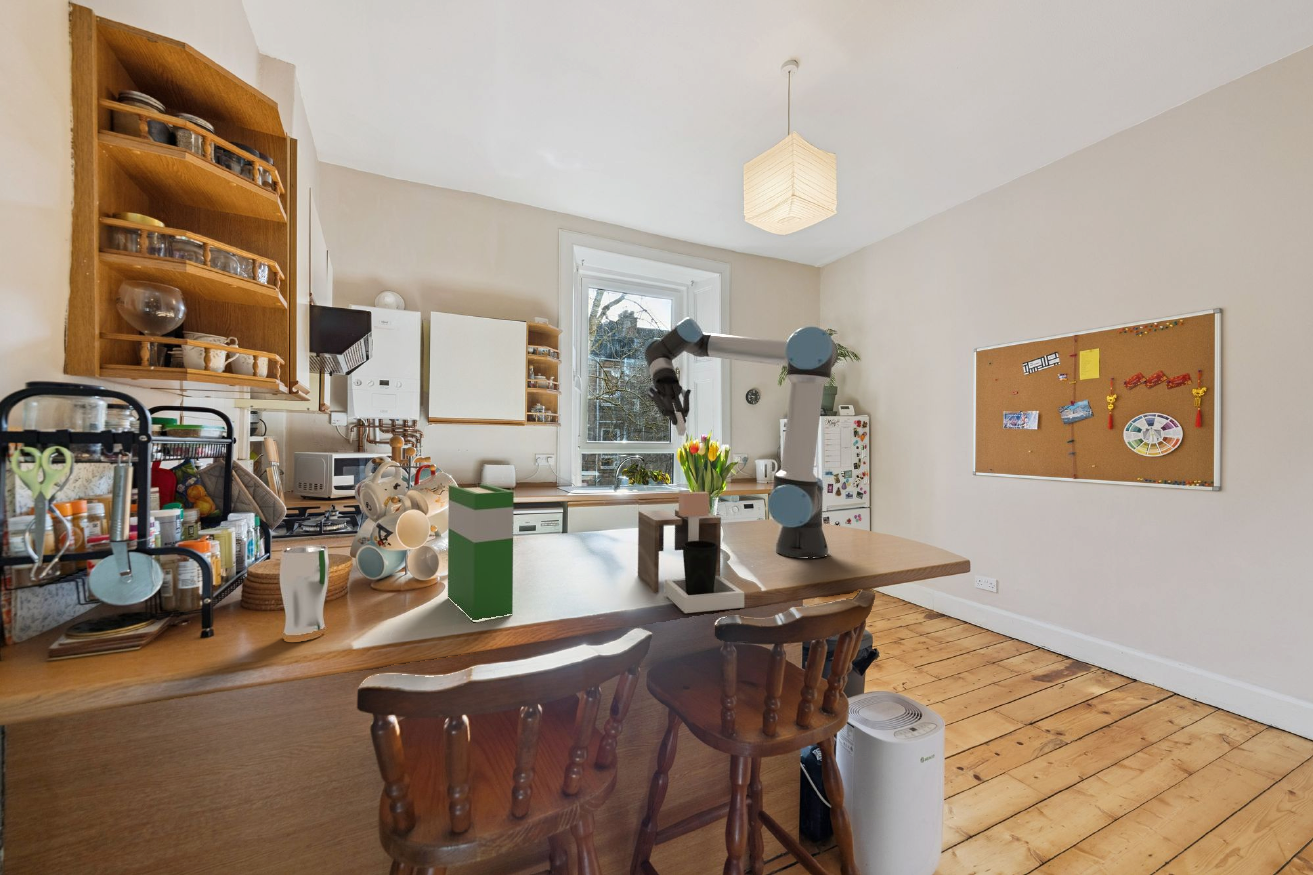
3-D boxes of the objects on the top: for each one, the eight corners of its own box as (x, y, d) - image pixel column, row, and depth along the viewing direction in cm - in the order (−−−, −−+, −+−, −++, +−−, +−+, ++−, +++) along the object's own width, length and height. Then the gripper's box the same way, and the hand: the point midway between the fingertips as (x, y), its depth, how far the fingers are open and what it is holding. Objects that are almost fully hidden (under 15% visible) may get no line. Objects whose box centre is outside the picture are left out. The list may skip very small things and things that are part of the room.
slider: (716, 587, 116) (717, 491, 116) (744, 607, 103) (745, 498, 103) (663, 592, 112) (664, 492, 112) (684, 613, 99) (686, 500, 99)
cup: (718, 607, 105) (719, 548, 104) (681, 605, 105) (682, 547, 105) (716, 595, 112) (717, 540, 112) (681, 594, 113) (682, 540, 113)
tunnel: (697, 571, 132) (698, 508, 132) (720, 587, 118) (720, 517, 118) (637, 575, 127) (638, 510, 127) (654, 592, 114) (654, 520, 113)
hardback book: (447, 598, 108) (448, 485, 108) (482, 592, 113) (483, 483, 113) (473, 623, 94) (474, 493, 94) (512, 615, 99) (513, 491, 99)
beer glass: (276, 635, 88) (276, 548, 88) (323, 625, 93) (324, 542, 92) (283, 647, 83) (283, 555, 83) (333, 636, 88) (333, 549, 87)
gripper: (681, 387, 158) (701, 441, 142) (640, 385, 154) (656, 441, 138) (687, 367, 153) (708, 422, 137) (645, 365, 149) (662, 421, 133)
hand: (682, 431), depth 138 cm, fingers closed
